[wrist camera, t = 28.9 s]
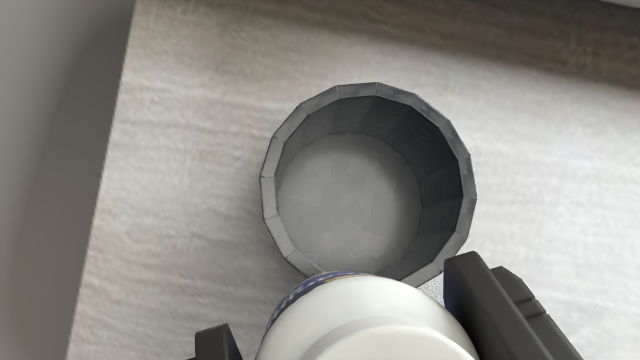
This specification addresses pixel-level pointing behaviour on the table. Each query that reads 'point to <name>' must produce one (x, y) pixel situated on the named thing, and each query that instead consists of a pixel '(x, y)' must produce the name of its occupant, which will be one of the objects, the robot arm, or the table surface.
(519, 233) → the table surface
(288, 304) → the pill bottle
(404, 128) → the tin
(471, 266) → the robot arm
